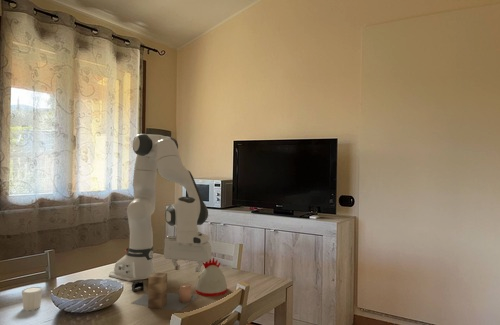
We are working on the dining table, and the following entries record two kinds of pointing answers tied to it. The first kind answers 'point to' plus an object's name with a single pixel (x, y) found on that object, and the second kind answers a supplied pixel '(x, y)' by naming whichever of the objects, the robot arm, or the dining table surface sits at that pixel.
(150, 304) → the block lower
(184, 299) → the drum
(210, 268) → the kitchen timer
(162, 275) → the block upper
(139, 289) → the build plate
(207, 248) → the robot arm
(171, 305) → the mat
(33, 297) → the white cylinder
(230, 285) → the dining table surface
